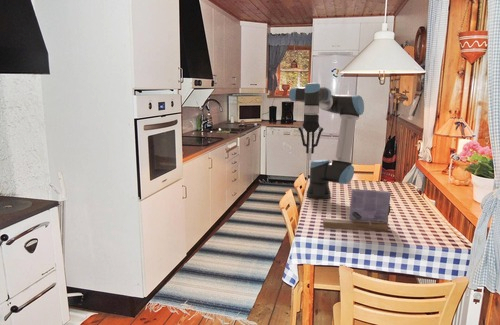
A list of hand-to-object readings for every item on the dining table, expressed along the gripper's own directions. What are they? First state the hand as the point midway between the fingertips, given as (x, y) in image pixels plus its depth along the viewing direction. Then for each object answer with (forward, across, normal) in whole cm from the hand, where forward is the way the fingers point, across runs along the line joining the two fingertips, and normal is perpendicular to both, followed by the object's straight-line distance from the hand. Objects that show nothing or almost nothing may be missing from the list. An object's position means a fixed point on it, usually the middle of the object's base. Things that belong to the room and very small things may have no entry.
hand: (309, 159), depth 194 cm
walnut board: (+30, +23, -15) cm, 41 cm away
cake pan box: (+31, +31, -9) cm, 44 cm away
